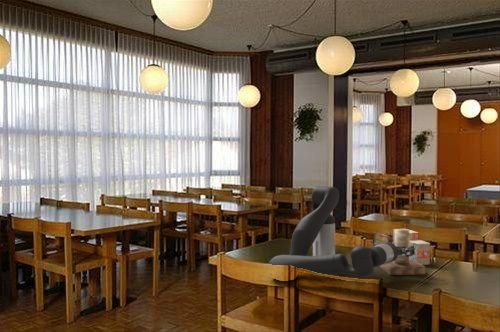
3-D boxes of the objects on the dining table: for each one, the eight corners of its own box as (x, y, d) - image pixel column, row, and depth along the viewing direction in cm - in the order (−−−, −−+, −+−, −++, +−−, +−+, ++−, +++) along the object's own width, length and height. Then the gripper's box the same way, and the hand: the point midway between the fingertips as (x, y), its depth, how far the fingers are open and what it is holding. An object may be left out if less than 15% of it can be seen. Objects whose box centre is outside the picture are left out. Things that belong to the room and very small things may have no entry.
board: (390, 275, 184) (390, 267, 184) (380, 267, 196) (380, 260, 196) (425, 274, 185) (425, 266, 185) (413, 266, 197) (413, 259, 197)
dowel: (397, 271, 188) (397, 231, 187) (392, 267, 193) (392, 229, 193) (411, 271, 188) (411, 231, 187) (406, 267, 194) (406, 228, 193)
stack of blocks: (430, 264, 200) (430, 236, 200) (416, 265, 199) (416, 236, 199) (405, 254, 222) (405, 228, 221) (392, 254, 220) (392, 228, 220)
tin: (372, 248, 234) (372, 231, 234) (378, 248, 235) (378, 231, 234) (387, 255, 219) (387, 237, 219) (394, 254, 220) (394, 236, 220)
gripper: (366, 260, 183) (386, 253, 195) (401, 266, 173) (420, 258, 185) (366, 241, 182) (386, 235, 194) (401, 246, 173) (420, 239, 185)
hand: (402, 247), depth 190 cm, fingers open, 8 cm apart
